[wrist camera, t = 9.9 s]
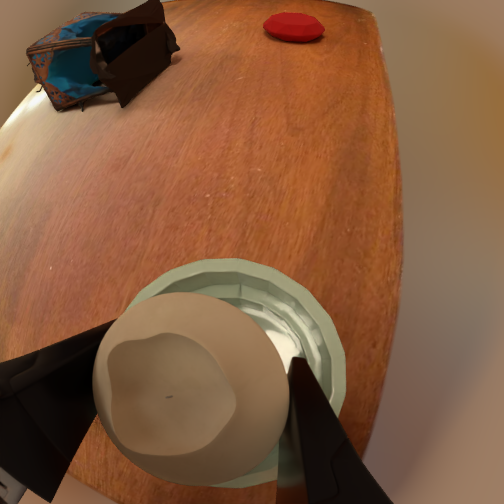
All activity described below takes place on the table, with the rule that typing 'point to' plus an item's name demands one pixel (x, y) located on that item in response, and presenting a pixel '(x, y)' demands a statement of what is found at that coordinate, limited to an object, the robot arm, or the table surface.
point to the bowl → (267, 326)
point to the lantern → (103, 55)
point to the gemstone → (294, 27)
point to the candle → (190, 389)
